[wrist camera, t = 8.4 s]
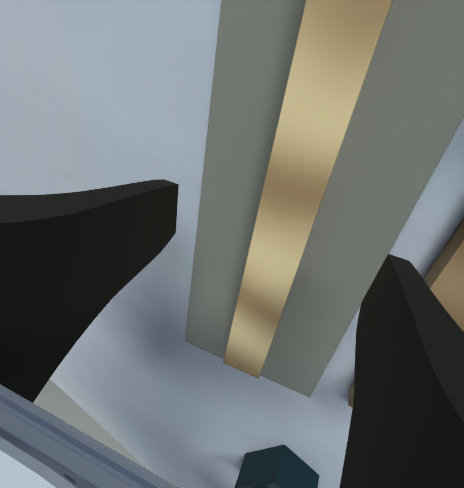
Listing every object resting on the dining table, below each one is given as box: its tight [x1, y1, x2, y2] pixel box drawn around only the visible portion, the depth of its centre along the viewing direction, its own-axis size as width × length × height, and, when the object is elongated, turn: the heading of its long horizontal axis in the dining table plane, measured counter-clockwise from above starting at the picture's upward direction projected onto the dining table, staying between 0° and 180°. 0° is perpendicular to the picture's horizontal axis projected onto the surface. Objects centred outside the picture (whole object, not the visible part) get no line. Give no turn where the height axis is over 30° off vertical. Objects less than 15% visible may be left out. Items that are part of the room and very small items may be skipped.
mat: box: [185, 0, 464, 397], centre depth 15 cm, size 30×10×1 cm, turn 171°
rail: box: [223, 0, 393, 378], centre depth 14 cm, size 24×2×2 cm, turn 171°
